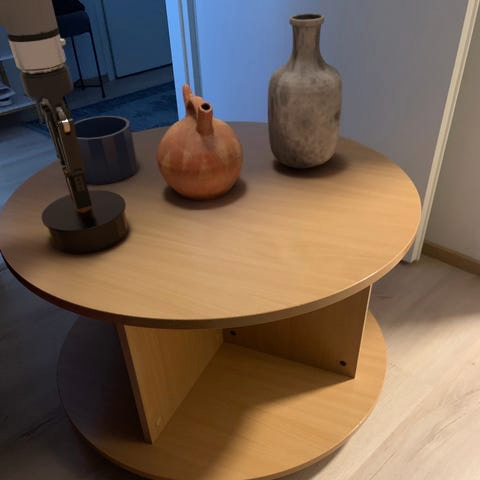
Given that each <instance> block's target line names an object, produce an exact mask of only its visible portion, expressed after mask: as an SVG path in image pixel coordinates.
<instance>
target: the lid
mask: <svg viewBox="0 0 480 480" xmlns="http://www.w3.org/2000/svg"><path fill="white" fill-rule="evenodd" d="M64 171H65V173H67V172H68V171H67V168H65V170H64ZM67 181H68V184H69V188H70V191H71V194H72V198H73V201H74V202H73V201H72V199H71V195H70V194H67V195H64V196H62V197H59V198H57V199H56V200H53V202H51V203H50V204H48V205H47V206H46V207H45V208H44V209H43V210H42V213H41V221H42V223H43V225H44V226H45V227H46V228H47V229H48V228H49V229H51V230H54V231H58V232H65V233H76V232H85V231H90V230H94V229H97V228H100V227H103V226H105V225H108V224H110V223H111V222H113V221H115V220H116V219H117V218H119V217H120V216H121V215H122V214H123V212H124V211H125V210H126V200H125V199H124V197H123V196H122V195H121V194H119V193H116V192H114V191H109V190H103V189H92V190H91V189H90V190H88V192H89V195H90V199H91V203H92V206H88V207H85V208H81V209H77V206H76V203H75V200H74V196H73V193H72V189H71V186H70V183H69V179H68V177H67Z"/></svg>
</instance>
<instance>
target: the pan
mask: <svg viewBox="0 0 480 480" xmlns="http://www.w3.org/2000/svg"><path fill="white" fill-rule="evenodd" d="M128 225H129V224H128V220H127V215H126V211H125V210H124V212H123V214H122V215H121V216H120V217H119V218H117V219H116V220H115V221H113V222H111V223H110V224H108V225H105V226H103V227H100V228H97V229H94V230H90V231H85V232H76V233H65V232H58V231H54V230H51V229H49V228H47V229H48V233H49V235H50V238H51V241H52V243H53V245H54V248H56V249H57V250H59V251H60V252H62V253H65V254H68V255H69V254H70V255H89V254H96V253H99V252H103V251H106V250H108V249H110V248H113V247H114V246H116V245H117V244H120V242H121V241H123V240H124V239H125V237H126V236H127V234H128V231H129V227H128Z"/></svg>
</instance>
